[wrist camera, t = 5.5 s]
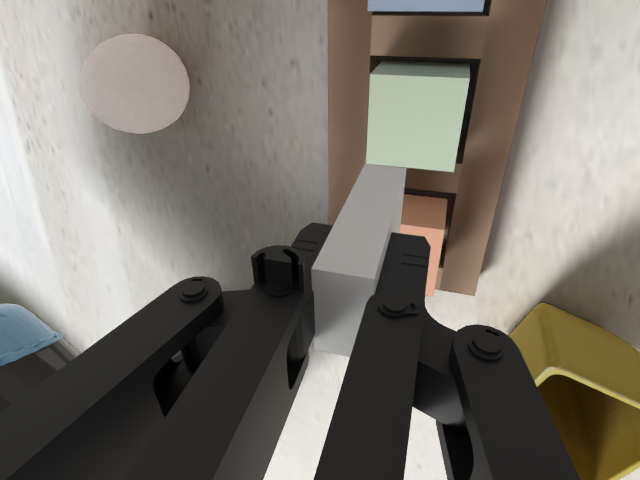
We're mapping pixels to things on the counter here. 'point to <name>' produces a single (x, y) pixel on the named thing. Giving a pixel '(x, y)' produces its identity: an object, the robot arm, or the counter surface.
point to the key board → (484, 118)
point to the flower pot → (585, 389)
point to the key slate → (426, 5)
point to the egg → (134, 84)
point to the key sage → (416, 114)
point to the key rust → (426, 228)
